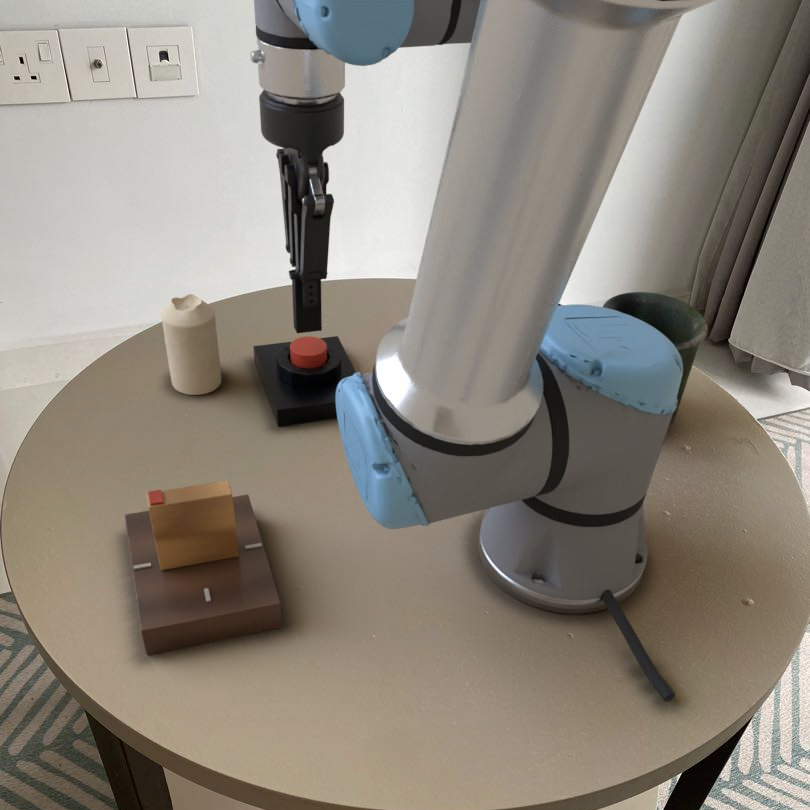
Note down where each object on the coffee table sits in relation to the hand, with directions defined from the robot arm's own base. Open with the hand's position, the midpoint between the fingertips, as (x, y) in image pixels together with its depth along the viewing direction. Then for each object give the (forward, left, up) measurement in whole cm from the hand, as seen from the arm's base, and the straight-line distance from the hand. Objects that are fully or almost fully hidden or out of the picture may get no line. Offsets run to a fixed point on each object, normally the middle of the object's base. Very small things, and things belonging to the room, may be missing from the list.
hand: (307, 328), depth 93 cm
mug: (-15, -33, -8) cm, 37 cm away
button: (0, 0, -4) cm, 4 cm away
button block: (0, 0, -7) cm, 7 cm away
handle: (-27, +16, -4) cm, 32 cm away
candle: (+4, +12, -8) cm, 15 cm away
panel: (-27, +16, -7) cm, 32 cm away
